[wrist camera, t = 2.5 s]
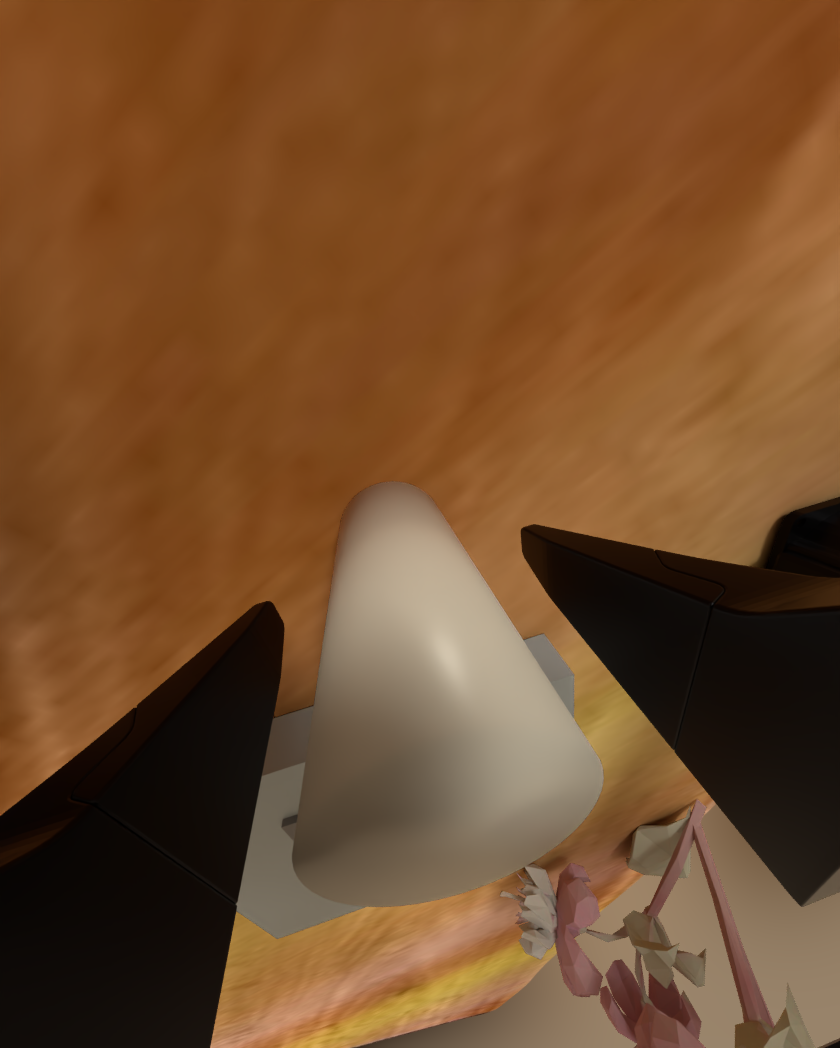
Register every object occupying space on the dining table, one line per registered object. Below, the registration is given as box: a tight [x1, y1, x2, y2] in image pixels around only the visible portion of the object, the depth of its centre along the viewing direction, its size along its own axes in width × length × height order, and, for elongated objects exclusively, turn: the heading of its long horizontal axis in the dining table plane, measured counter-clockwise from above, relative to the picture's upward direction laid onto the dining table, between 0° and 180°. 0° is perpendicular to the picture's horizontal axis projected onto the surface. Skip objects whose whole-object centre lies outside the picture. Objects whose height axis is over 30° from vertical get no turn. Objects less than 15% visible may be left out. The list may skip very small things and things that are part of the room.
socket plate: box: [236, 634, 574, 939], centre depth 17 cm, size 20×16×3 cm
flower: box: [500, 800, 815, 1048], centre depth 20 cm, size 20×22×25 cm
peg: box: [292, 481, 604, 907], centre depth 8 cm, size 4×4×9 cm
